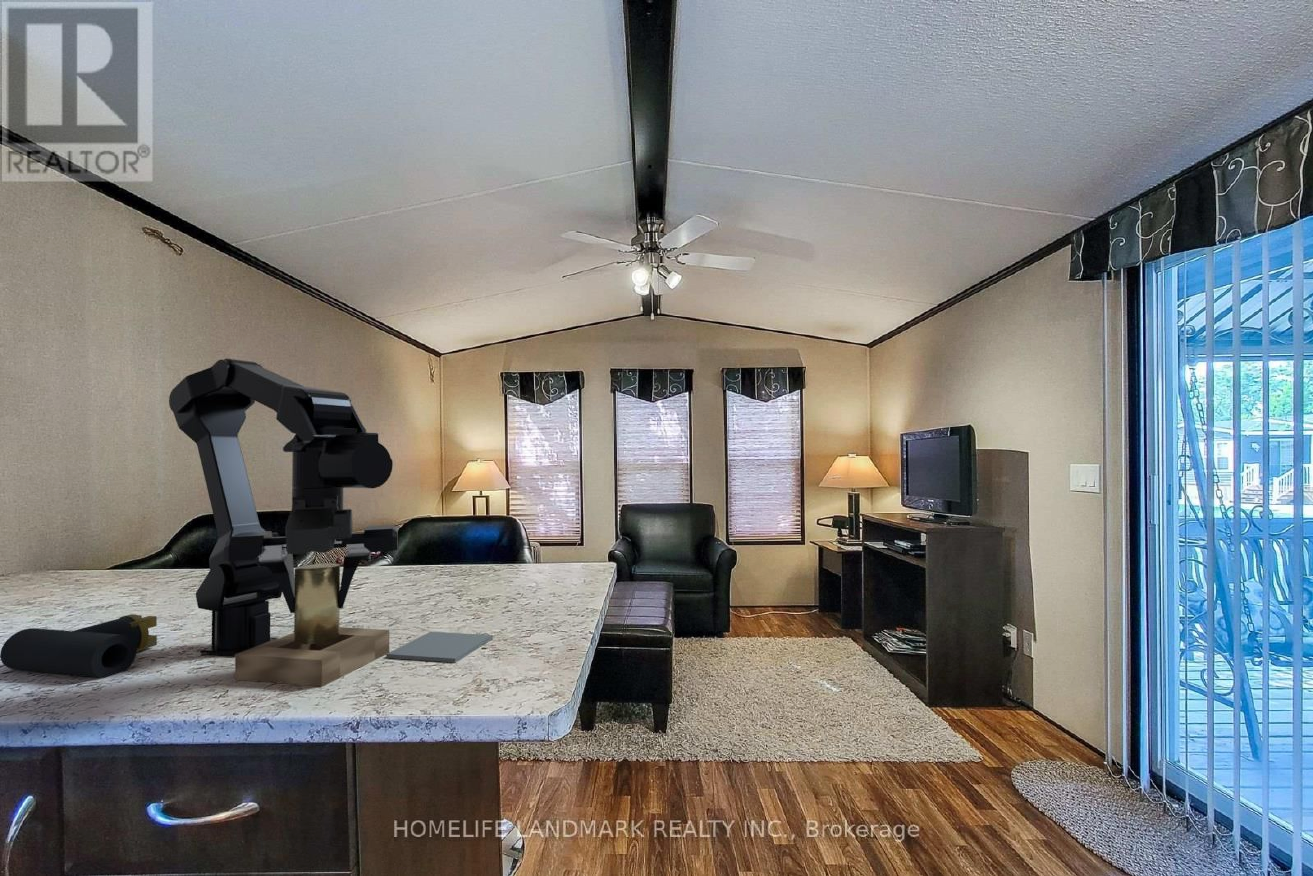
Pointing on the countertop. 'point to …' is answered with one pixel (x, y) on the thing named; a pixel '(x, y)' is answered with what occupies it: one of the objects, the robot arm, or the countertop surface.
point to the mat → (440, 647)
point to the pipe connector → (81, 647)
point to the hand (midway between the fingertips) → (317, 610)
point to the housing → (311, 658)
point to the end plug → (316, 603)
